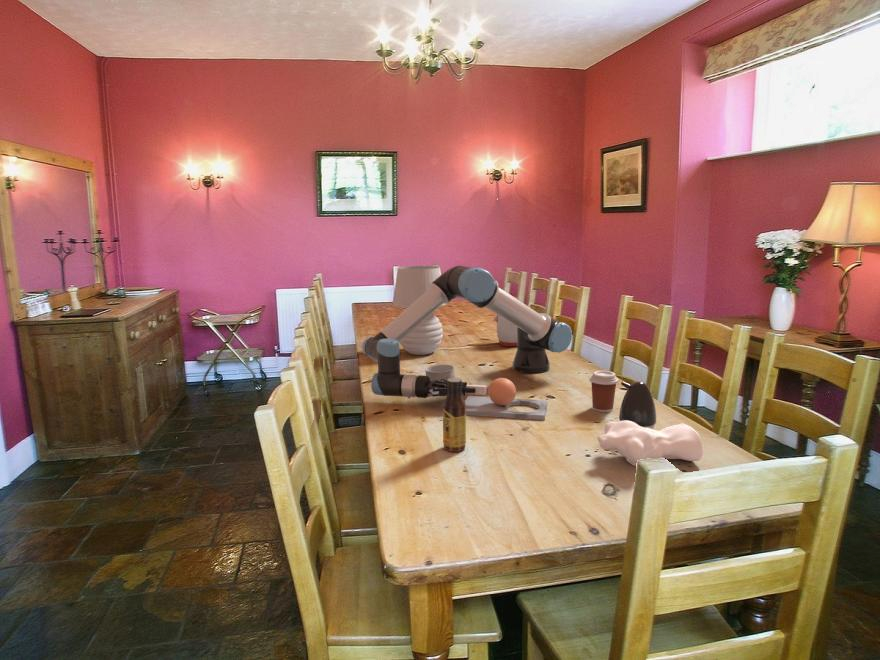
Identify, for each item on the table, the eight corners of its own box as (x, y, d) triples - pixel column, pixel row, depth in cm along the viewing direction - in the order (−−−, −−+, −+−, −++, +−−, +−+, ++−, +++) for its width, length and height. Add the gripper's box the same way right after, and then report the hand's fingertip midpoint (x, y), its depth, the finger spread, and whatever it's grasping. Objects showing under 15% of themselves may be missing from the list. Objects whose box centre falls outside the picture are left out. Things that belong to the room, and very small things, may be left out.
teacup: (451, 393, 205) (451, 371, 204) (422, 392, 207) (422, 370, 206) (458, 382, 219) (458, 362, 217) (430, 381, 221) (430, 361, 219)
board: (459, 414, 183) (459, 409, 183) (468, 400, 197) (468, 395, 197) (544, 420, 177) (544, 415, 176) (547, 404, 191) (547, 400, 191)
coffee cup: (582, 406, 189) (583, 371, 186) (604, 402, 192) (606, 368, 190) (600, 415, 180) (601, 378, 178) (623, 411, 184) (625, 375, 182)
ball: (490, 390, 193) (517, 392, 191) (487, 410, 187) (514, 412, 185) (489, 371, 188) (517, 373, 186) (486, 390, 181) (514, 393, 179)
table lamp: (457, 350, 272) (456, 266, 265) (428, 361, 251) (426, 270, 244) (414, 344, 286) (412, 264, 278) (383, 354, 265) (379, 268, 257)
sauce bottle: (442, 444, 159) (441, 376, 155) (464, 443, 159) (464, 375, 155) (444, 454, 152) (443, 382, 148) (467, 453, 153) (467, 381, 149)
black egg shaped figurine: (625, 423, 173) (628, 374, 170) (660, 430, 166) (663, 380, 164) (612, 433, 165) (614, 382, 162) (648, 441, 159) (651, 389, 156)
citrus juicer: (493, 341, 291) (493, 302, 287) (527, 341, 289) (528, 302, 285) (491, 347, 276) (491, 307, 272) (528, 348, 273) (528, 307, 270)
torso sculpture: (669, 448, 157) (583, 447, 154) (674, 414, 155) (587, 412, 152) (708, 477, 140) (611, 476, 136) (714, 439, 138) (617, 437, 134)
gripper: (422, 391, 199) (488, 395, 194) (411, 402, 187) (482, 407, 182) (421, 370, 198) (488, 373, 192) (411, 380, 186) (482, 384, 180)
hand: (485, 390), depth 187 cm, fingers closed
